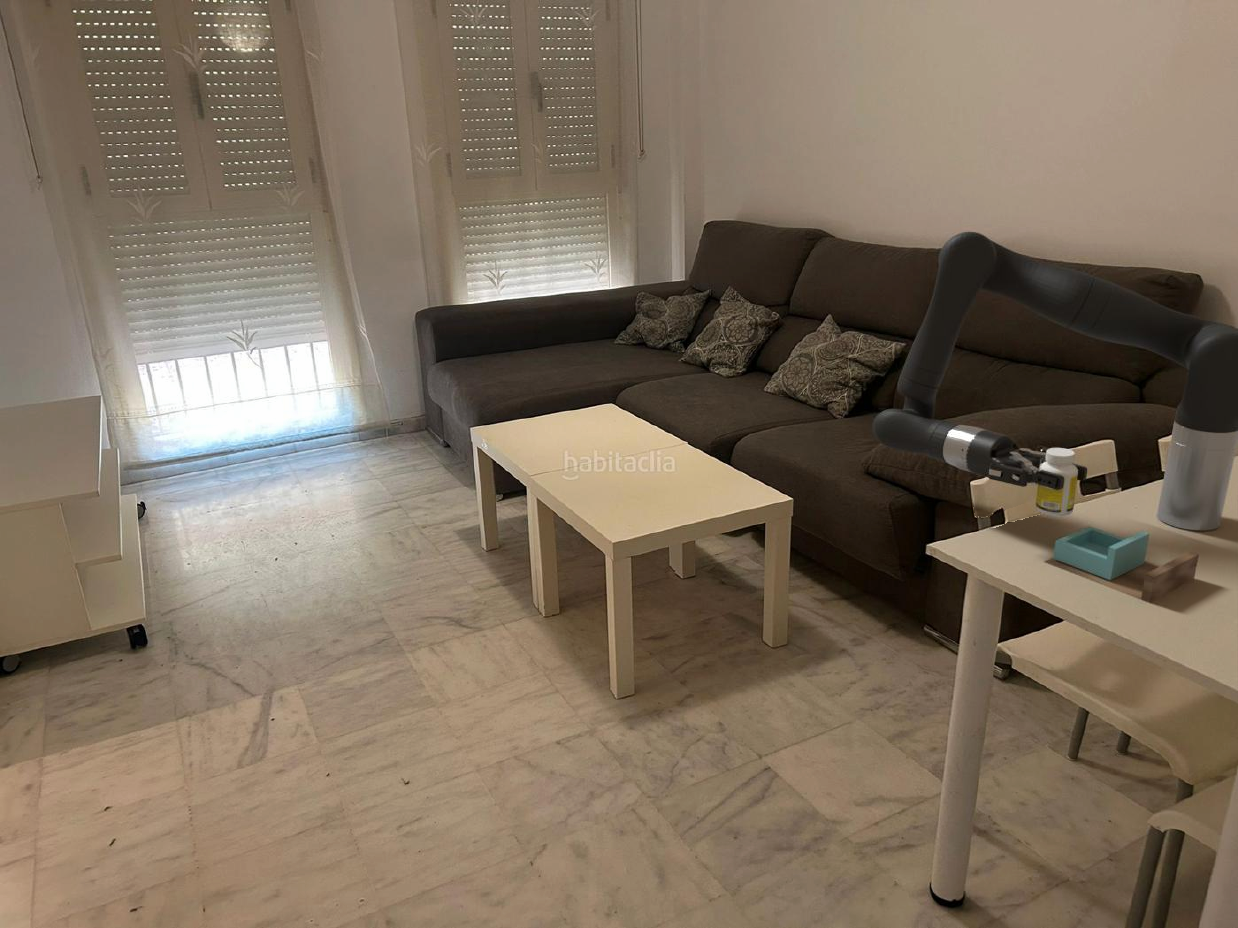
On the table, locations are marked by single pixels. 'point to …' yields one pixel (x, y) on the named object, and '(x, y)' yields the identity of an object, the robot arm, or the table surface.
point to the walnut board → (1144, 577)
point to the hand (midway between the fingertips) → (1073, 478)
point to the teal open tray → (1102, 551)
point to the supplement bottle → (1064, 498)
